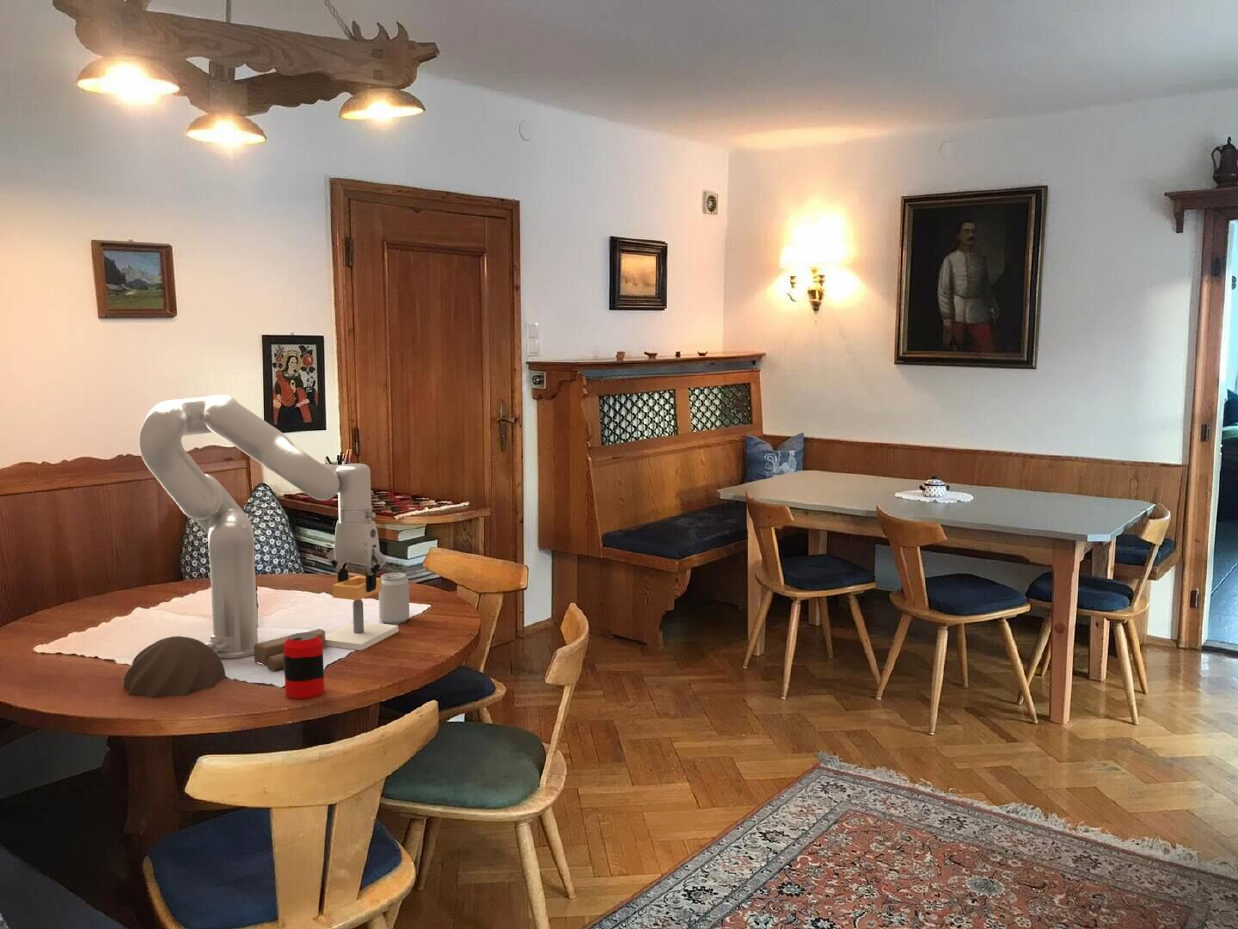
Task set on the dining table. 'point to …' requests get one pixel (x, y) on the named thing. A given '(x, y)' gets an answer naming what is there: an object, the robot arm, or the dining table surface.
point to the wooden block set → (277, 651)
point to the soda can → (303, 666)
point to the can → (394, 598)
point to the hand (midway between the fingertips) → (357, 588)
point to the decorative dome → (174, 668)
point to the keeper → (359, 631)
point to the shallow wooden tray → (354, 588)
